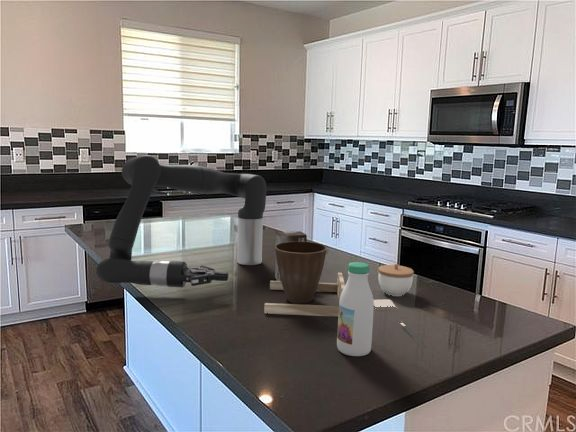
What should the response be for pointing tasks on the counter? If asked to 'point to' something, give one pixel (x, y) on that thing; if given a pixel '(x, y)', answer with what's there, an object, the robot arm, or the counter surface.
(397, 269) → the lidded jar
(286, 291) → the plant pot
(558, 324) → the counter surface
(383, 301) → the spatula
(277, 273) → the coffee box
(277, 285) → the wooden frame
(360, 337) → the milk bottle
